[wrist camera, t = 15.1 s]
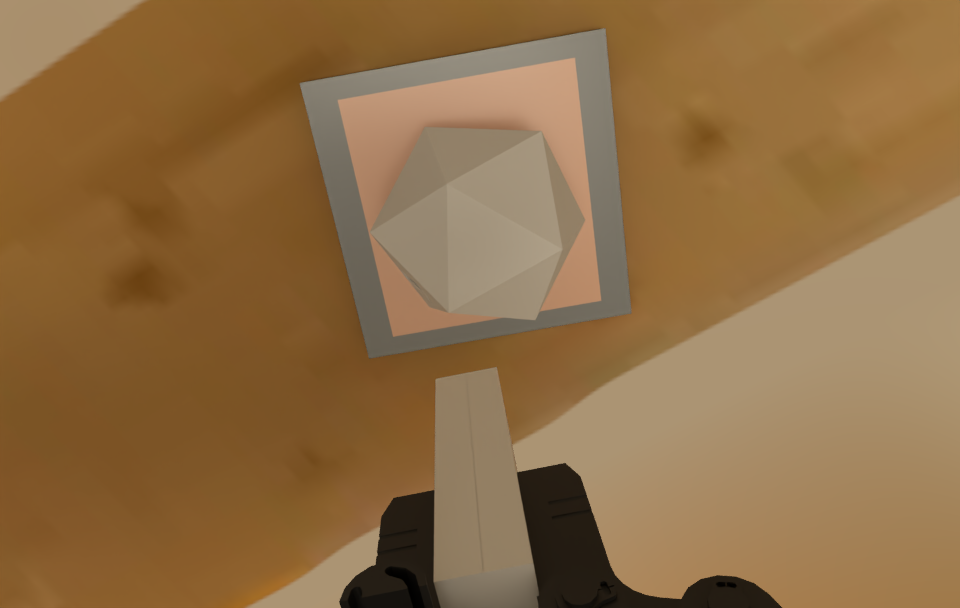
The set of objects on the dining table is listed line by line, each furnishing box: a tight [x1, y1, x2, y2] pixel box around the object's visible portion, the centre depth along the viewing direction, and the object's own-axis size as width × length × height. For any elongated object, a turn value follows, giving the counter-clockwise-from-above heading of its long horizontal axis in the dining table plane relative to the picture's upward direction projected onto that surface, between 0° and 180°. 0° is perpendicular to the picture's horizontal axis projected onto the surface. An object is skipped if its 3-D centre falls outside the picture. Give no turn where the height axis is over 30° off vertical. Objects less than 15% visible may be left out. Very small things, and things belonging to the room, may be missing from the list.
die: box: [370, 127, 585, 320], centre depth 29 cm, size 8×9×10 cm
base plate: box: [300, 28, 631, 359], centre depth 33 cm, size 14×14×1 cm
